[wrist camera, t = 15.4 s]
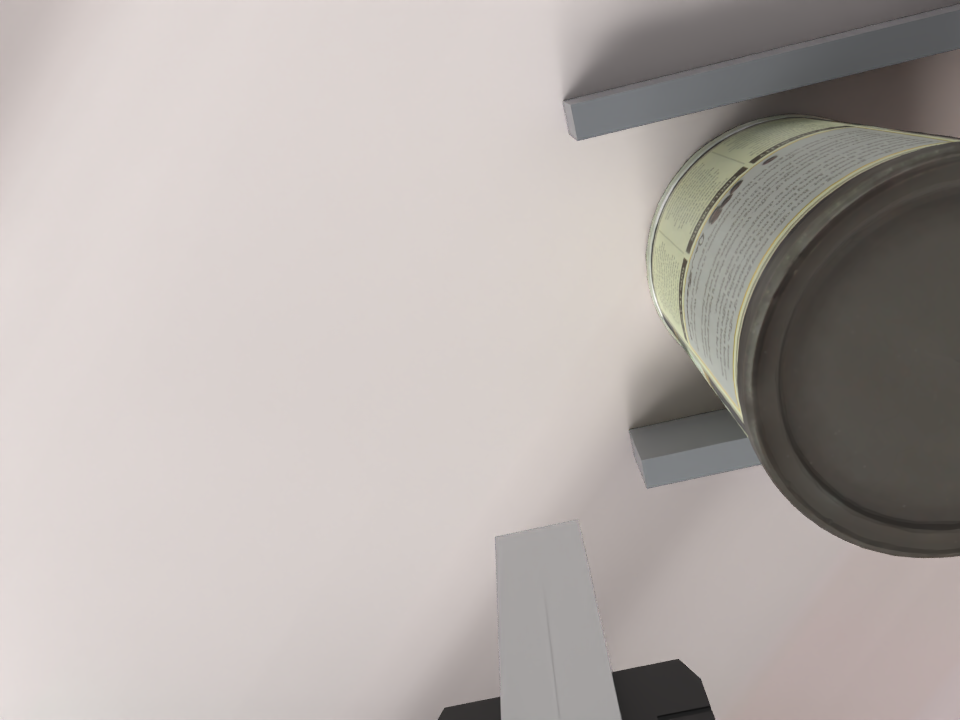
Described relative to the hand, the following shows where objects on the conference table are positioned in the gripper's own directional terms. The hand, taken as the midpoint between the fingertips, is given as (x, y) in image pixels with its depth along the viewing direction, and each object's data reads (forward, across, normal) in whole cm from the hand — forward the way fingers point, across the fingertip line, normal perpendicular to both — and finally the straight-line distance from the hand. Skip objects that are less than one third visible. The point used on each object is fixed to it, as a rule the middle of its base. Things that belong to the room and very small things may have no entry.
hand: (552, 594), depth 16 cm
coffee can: (+20, +10, 0) cm, 23 cm away
